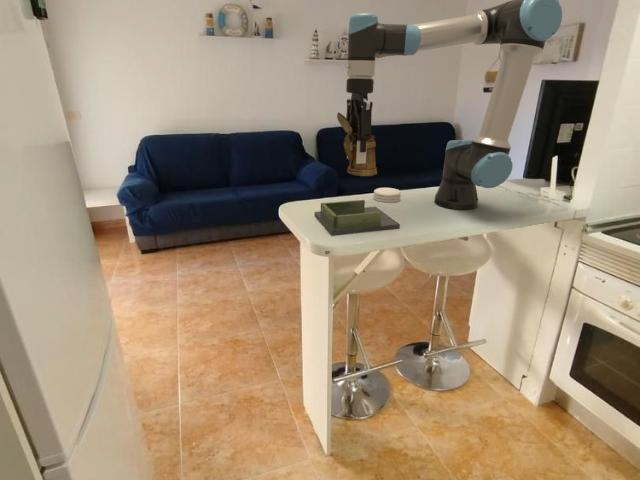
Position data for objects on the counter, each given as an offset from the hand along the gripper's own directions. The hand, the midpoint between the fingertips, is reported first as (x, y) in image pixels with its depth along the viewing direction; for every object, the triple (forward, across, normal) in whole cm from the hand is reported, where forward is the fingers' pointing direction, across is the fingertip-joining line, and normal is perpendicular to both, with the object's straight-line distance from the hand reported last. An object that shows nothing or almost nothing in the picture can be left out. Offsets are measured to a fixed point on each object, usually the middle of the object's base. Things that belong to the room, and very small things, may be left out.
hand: (356, 160), depth 118 cm
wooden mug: (+4, 0, 0) cm, 4 cm away
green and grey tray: (+20, 0, +1) cm, 20 cm away
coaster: (+20, -21, +22) cm, 36 cm away
